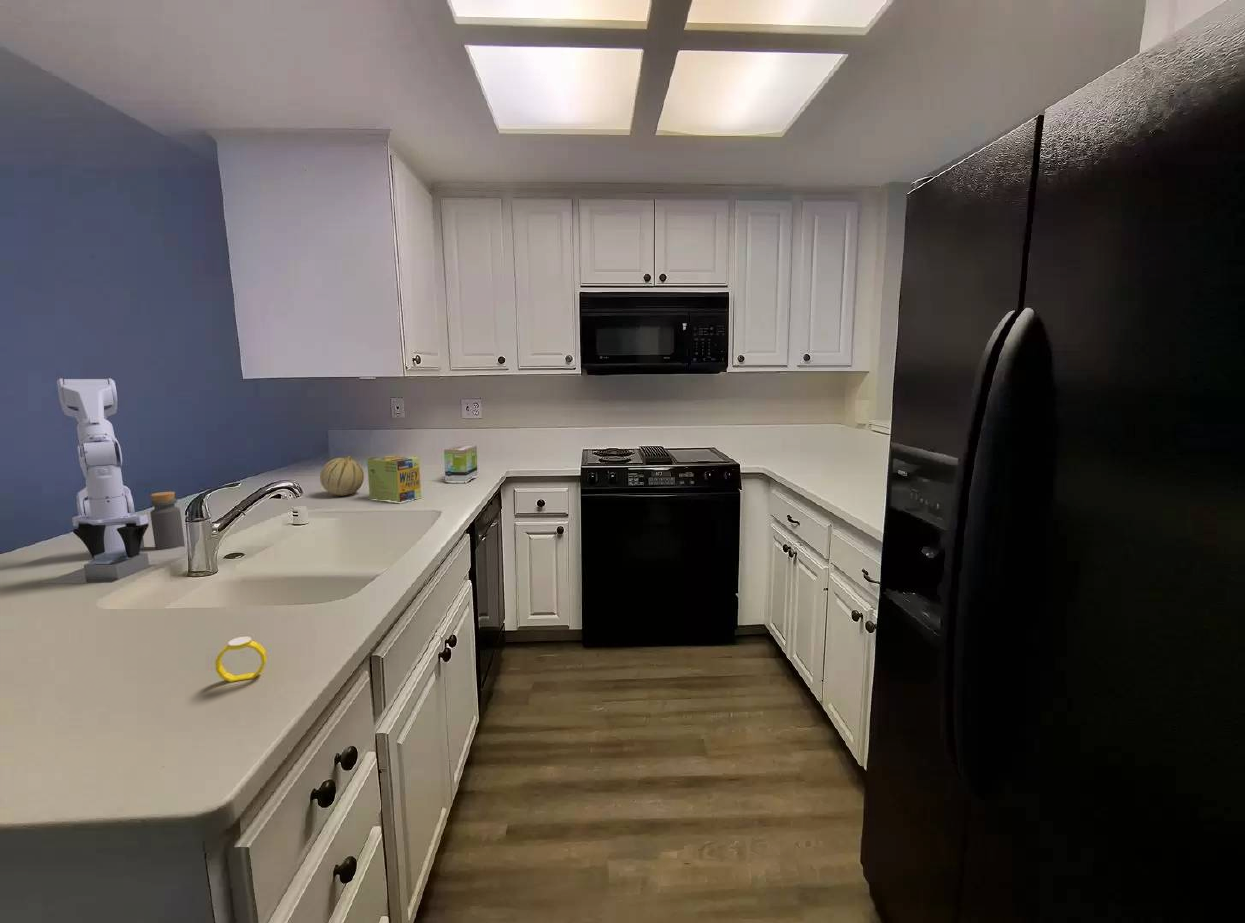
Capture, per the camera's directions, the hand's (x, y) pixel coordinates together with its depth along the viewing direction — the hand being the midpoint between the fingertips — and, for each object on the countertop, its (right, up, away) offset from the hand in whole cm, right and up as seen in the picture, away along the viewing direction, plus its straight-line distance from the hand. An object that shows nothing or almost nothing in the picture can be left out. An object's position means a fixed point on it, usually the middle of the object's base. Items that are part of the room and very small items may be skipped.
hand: (116, 556), depth 117 cm
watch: (+57, -11, -40) cm, 70 cm away
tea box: (+42, +12, +115) cm, 123 cm away
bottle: (-5, -2, +20) cm, 21 cm away
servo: (0, -4, 0) cm, 4 cm away
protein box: (+29, +7, +78) cm, 84 cm away
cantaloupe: (+5, +8, +86) cm, 86 cm away
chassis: (-4, -5, +1) cm, 6 cm away
